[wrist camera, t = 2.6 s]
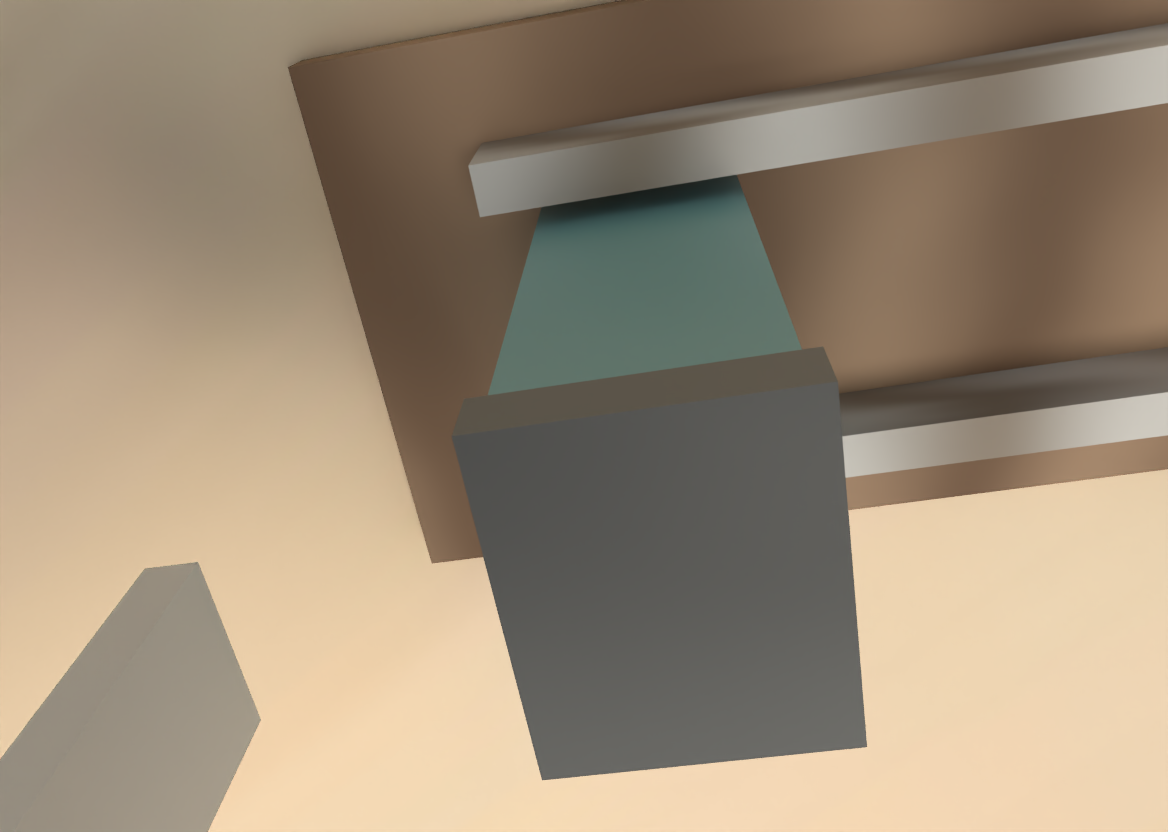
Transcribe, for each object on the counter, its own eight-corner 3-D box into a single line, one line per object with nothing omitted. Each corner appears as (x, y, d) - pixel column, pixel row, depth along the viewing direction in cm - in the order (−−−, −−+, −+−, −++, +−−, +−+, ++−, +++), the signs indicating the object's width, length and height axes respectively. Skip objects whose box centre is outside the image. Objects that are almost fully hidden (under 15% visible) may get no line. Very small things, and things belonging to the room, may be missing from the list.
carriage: (577, 428, 24) (541, 779, 14) (530, 197, 22) (452, 436, 12) (771, 401, 23) (866, 746, 14) (744, 161, 21) (837, 381, 12)
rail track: (438, 541, 27) (417, 612, 24) (301, 60, 22) (255, 83, 19) (1633, 385, 24) (1759, 447, 21) (1807, -223, 19) (2005, -242, 16)
